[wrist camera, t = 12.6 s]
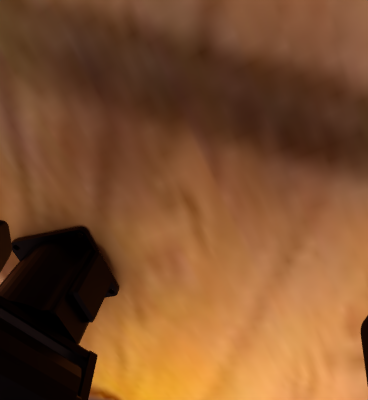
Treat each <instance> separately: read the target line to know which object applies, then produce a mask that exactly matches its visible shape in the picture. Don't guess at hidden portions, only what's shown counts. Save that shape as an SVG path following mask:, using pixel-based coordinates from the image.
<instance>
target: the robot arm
mask: <svg viewBox="0 0 368 400" xmlns="http://www.w3.org/2000/svg"><path fill="white" fill-rule="evenodd" d="M79 233H81V234H82V235H80V234H79ZM12 251H13V252H14V253H15V255H16V256H17V258H18V259H19V261H20V262H19V263H18V264H17V265H16V267H15V268H14V269H13V270H12V271H11V273H10V274H9V275H8V276H7V277H6V279H5V280H4V281H3V282H2V283H1V285H0V400H88V398H89V393H90V388H91V384H92V379H93V374H94V369H95V365H96V360H97V354H95V353H94V352H92V351H88V350H86V349H84V348H83V347H81V346H80V345H79V343H80V341H81V338H82V336H83V334H84V332H85V330H86V328H87V326H88V323H89V322H93V321H94V319H95V317H96V315H97V313H98V311H99V308H100V306H101V304H102V302H103V300H104V297H111V296H116V295H117V294H118V291H119V287H118V285H117V283H116V281H115V279H114V278H113V275H112V273H111V272H110V270H109V268H108V266H107V264H106V262H105V261H104V259H103V257H102V255H101V253H100V252H99V250H98V248H97V247H96V245H95V243H94V241H93V239H92V237H91V236H90V234H89V232H88V230H87V229H86V228H84V227H75V228H70V229H65V230H60V231H54V232H49V233H44V234H39V235H34V236H29V237H24V238H19V239H15V240H14V241H13V242H12V243H11V237H10V231H9V226H8V224H7V222H5V221H3V220H0V272H1V271H2V269H3V267H4V266H5V264H6V262H7V260H8V259H9V257H10V255H11V252H12ZM361 340H362V347H363V355H364V362H365V370H366V377H367V385H368V316H367V317H366V318H365V320H364V321H363V323H362V326H361Z"/></svg>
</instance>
